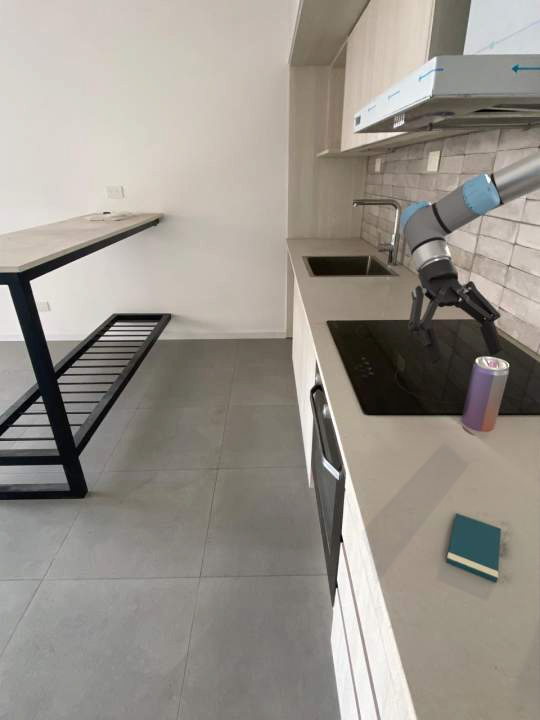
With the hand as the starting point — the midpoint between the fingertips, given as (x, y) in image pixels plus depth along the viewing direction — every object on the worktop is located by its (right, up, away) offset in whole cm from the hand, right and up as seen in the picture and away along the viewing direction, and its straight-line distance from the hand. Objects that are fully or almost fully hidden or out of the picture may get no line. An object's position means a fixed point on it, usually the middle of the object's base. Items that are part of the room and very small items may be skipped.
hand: (467, 356), depth 80 cm
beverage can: (+2, -15, 0) cm, 15 cm away
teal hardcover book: (-11, -27, -25) cm, 38 cm away
